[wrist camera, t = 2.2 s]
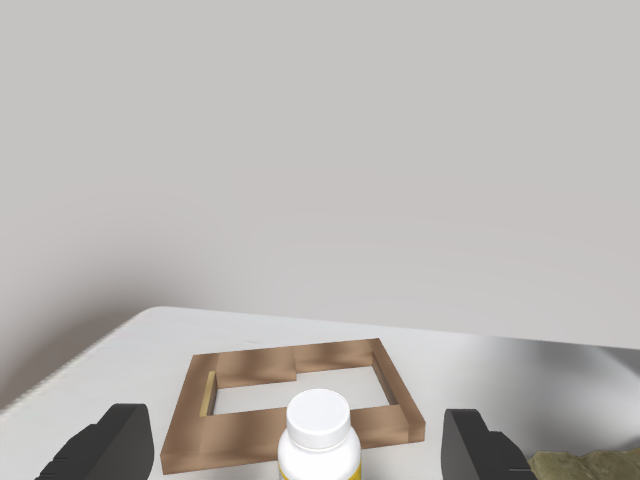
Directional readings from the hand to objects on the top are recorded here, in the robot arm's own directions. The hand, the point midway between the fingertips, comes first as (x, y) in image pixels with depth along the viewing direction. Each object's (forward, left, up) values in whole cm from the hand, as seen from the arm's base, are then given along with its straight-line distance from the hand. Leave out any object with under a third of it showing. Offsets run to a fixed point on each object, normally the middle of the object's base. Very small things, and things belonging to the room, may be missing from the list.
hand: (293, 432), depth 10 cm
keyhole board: (-1, -24, -18) cm, 30 cm away
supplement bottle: (-2, -11, -19) cm, 22 cm away
